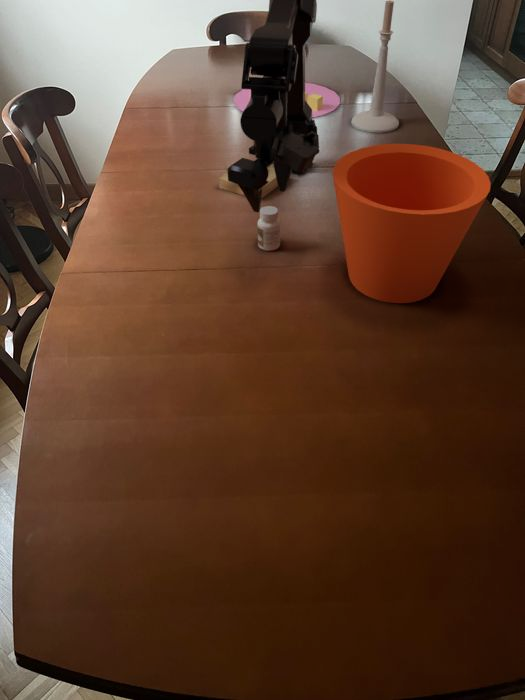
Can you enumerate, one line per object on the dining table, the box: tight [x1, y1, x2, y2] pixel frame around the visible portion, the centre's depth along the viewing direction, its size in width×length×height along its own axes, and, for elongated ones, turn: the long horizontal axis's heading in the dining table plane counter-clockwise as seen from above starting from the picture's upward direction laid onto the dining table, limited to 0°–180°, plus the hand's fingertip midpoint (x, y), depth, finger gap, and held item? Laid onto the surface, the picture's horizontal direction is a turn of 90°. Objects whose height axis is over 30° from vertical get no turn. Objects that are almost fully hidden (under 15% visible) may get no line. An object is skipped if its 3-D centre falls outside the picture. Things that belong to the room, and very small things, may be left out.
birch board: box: [218, 166, 278, 200], centre depth 135 cm, size 11×11×2 cm
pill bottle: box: [257, 205, 281, 252], centre depth 114 cm, size 4×4×8 cm
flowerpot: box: [332, 143, 492, 304], centre depth 102 cm, size 25×25×20 cm
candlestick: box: [351, 0, 400, 134], centre depth 152 cm, size 13×13×30 cm
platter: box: [232, 82, 341, 119], centre depth 175 cm, size 32×32×3 cm
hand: (269, 201), depth 110 cm, fingers open, 9 cm apart
